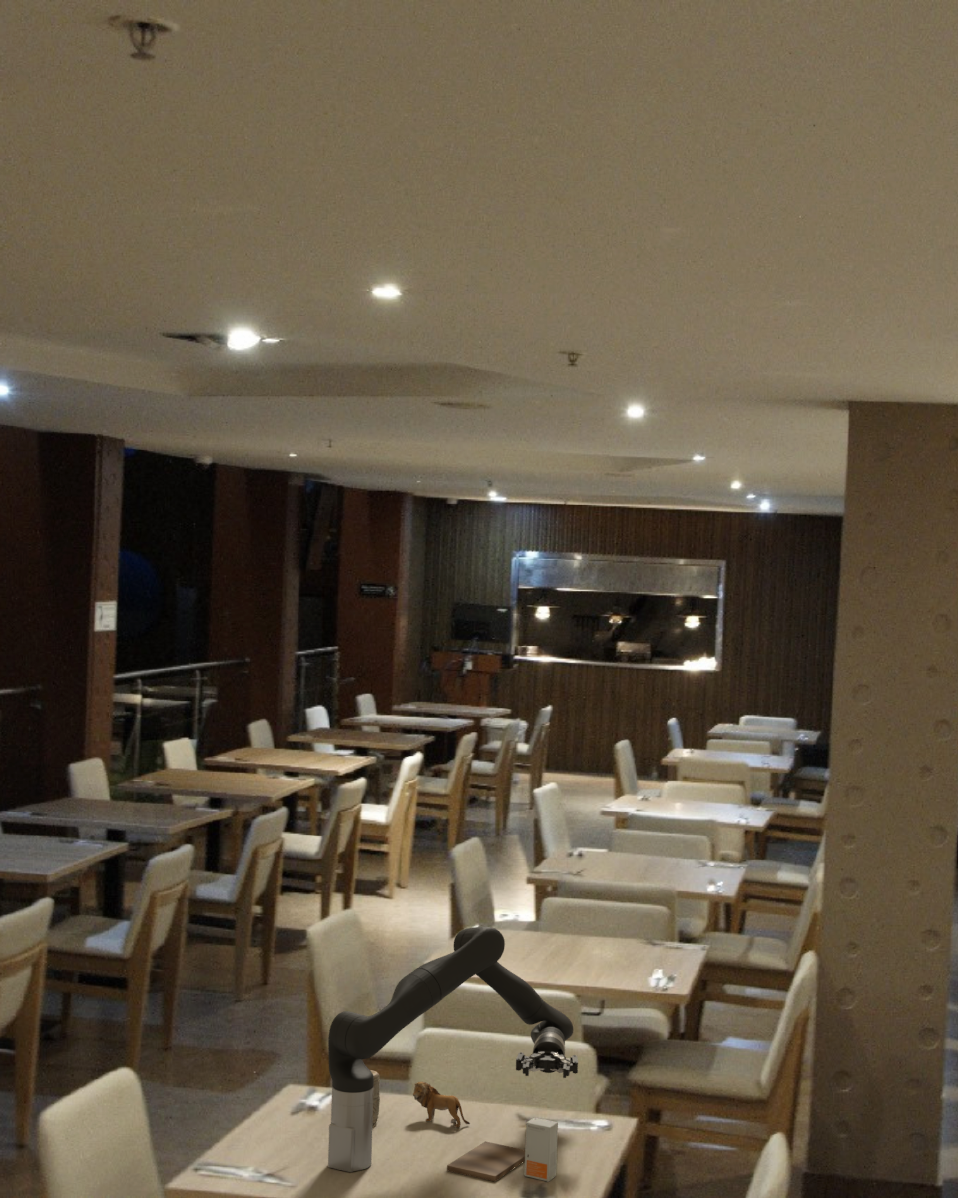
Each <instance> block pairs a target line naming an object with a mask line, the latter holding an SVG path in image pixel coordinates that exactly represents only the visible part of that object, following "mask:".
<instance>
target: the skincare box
mask: <svg viewBox="0 0 958 1198" xmlns="http://www.w3.org/2000/svg"><path fill="white" fill-rule="evenodd" d="M525 1126H526V1127H525V1149H524V1150H525V1162H524V1171H523V1172H524V1173H523V1175H524V1177H527V1178H531V1179H535V1180H539V1181H545V1182H550V1181H551V1180H552V1179H554V1178H555V1177H556V1176H557V1166H558V1165H557V1159H558V1158H557V1157H558V1135H559V1132H558V1130H559V1122H557V1121H554V1120H553V1121H552V1120H549V1119H544V1118H537V1117H533V1118H531V1119H530V1120H528V1121H526V1123H525Z"/></svg>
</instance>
